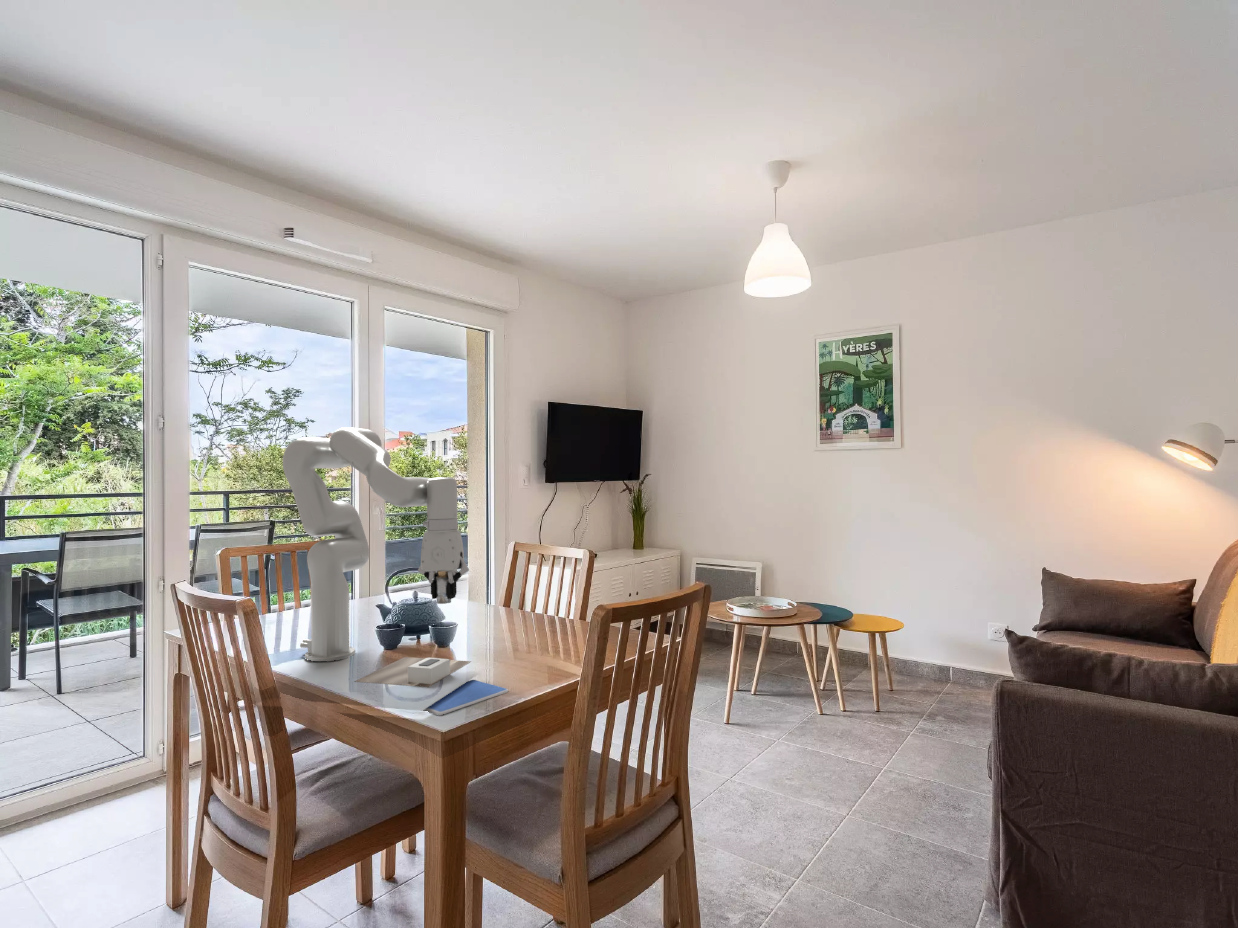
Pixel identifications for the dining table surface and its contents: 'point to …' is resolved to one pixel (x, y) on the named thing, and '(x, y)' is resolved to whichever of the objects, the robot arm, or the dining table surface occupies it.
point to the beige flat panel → (403, 672)
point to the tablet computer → (465, 696)
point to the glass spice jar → (442, 587)
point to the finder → (428, 670)
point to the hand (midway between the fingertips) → (443, 597)
